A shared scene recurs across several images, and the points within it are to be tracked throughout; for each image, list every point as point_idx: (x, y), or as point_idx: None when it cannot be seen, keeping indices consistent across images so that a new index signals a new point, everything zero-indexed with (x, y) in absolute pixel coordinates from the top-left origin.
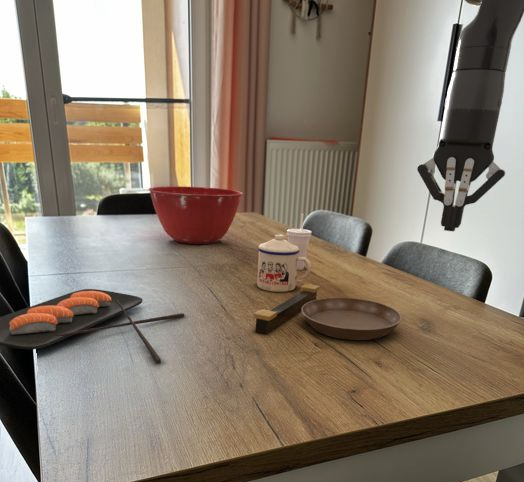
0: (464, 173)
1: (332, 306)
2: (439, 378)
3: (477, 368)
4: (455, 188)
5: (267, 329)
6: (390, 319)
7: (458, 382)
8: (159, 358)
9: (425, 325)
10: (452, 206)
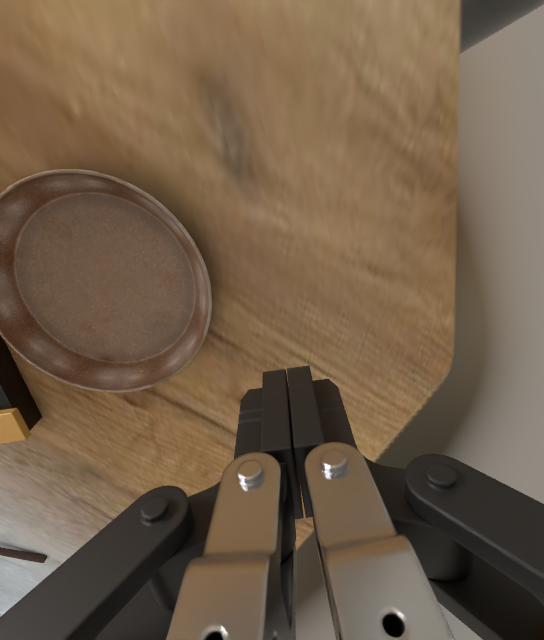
0: None
1: (7, 227)
2: (340, 393)
3: (385, 318)
4: (274, 560)
5: (35, 417)
6: (164, 218)
7: (367, 388)
8: (41, 560)
9: (228, 131)
10: (299, 514)
